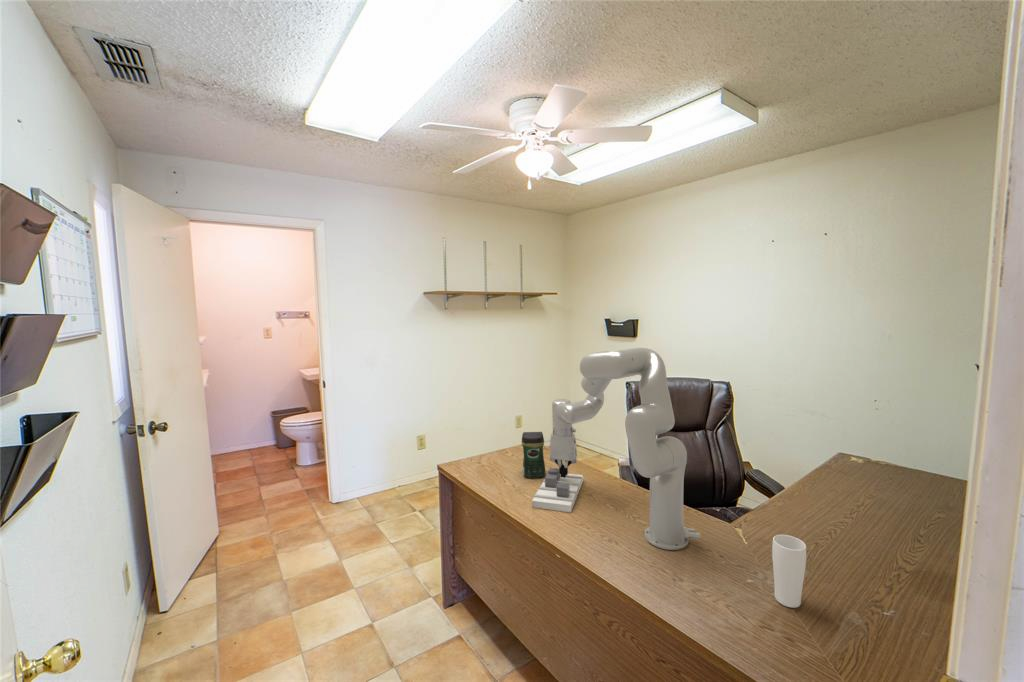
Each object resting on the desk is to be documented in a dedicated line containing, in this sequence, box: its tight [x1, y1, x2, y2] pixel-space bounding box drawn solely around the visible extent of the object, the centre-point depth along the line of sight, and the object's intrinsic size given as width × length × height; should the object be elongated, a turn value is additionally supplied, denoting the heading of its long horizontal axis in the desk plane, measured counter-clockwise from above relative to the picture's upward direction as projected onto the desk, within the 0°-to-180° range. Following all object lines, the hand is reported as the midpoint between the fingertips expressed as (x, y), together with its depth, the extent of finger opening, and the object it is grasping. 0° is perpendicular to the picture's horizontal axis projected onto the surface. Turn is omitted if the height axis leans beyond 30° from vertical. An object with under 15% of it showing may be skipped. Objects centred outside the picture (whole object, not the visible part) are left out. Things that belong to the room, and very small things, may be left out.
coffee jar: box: [520, 431, 546, 479], centre depth 178 cm, size 10×8×19 cm
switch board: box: [531, 472, 584, 513], centre depth 161 cm, size 14×26×3 cm, turn 161°
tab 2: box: [544, 473, 558, 488], centre depth 162 cm, size 4×4×3 cm
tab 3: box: [557, 483, 570, 498], centre depth 154 cm, size 4×4×3 cm
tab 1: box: [547, 467, 560, 481], centre depth 168 cm, size 4×4×3 cm
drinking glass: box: [771, 534, 807, 609], centre depth 101 cm, size 7×7×15 cm
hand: (563, 476), depth 167 cm, fingers closed
